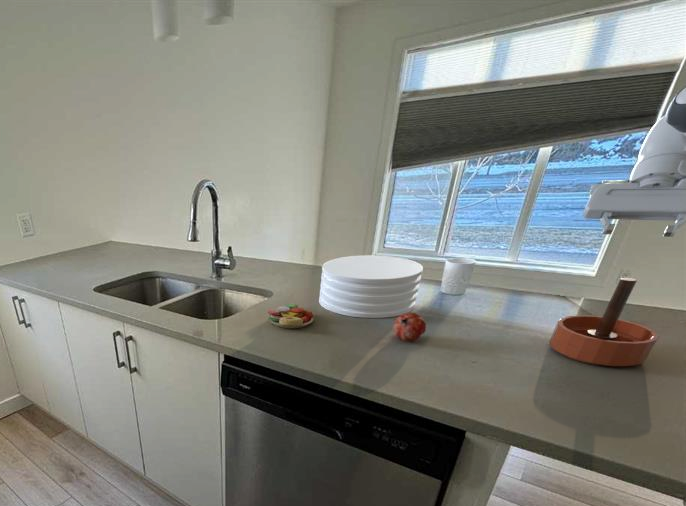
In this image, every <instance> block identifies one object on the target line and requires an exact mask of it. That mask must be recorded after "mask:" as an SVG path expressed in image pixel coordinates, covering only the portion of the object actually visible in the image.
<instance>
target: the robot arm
mask: <svg viewBox="0 0 686 506" xmlns="http://www.w3.org/2000/svg"><path fill="white" fill-rule="evenodd" d="M588 196H589V198H588V201H587V202H586V205H585V207H584V209H583V212H582V217H584V219H586V220H589V219H590V220H600V221H599V223H600V225H601V227H602V229H603V230H602V233H601V234H602V235H612V233H613V232H614V228H615V226H616V223H611V221H610V220H624V221H625V220H626V221H627V220H629V221H630V220H631V221H667V222H669V221H670V222H671V221H673V222H674V221H675V223H674V224H673V225H671V224H669V225H667V226H666V228H665V229H664V231H663V234H662V237H664V238H674V236H675V235H676V233H677V231H678V230H679V229H680V228H681V227H683V226H684V225H686V86H684V87H683V88H682V89H680V91H679V92H678V93H677V94H675V96H674V98H673V99H672V100H671V102H670V104H669V105H668V108H667V110H666V113H665V115H663V116H662V117H661V118H660V119H659V120H657V121H656V122H655V124H654V125H653V126H652V127H651V129H650V131H649V132H648V134H647V135H646V136H645V139H644V141H643V143H642V146H641V148H640V150H639V154H638V162H637V163H636V164H635V165H634V168H633V169H632V171H631V174H630V177H629V179H617V180H609V179H608V180H607V179H606V180H602V181H601V182H597V183H595V184H593V185H591V187H590V189H589V192H588Z"/></svg>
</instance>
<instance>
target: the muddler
mask: <svg viewBox="0 0 686 506" xmlns="http://www.w3.org/2000/svg"><path fill="white" fill-rule="evenodd" d="M637 282H638V279H637V278H634V277H621V278H619V281H618V283H617V285H616V287H615V289H614V292H613V293H612V296H611V298H610V300H609V302H608V304H607V306H606V307H605V310H604V312H603V315H602V319H601V321H600V323H599V325H598V327H597V329H591V330H588V331H587V333H586V336H589V337H594V338H598V339H603V340H611V341H616V339H617V337H618V335H617V334H615V333H613V332H612V330H613V328H614V326H615V324H616V322H617V320H618V319H620V316H621V314H622V312H623V309H624V308H625V306H626V304H627V302H628V300H629V298H630V296H631V294H632V292H633V290H634V289H635V286H636V284H637Z"/></svg>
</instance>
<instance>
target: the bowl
mask: <svg viewBox="0 0 686 506" xmlns="http://www.w3.org/2000/svg"><path fill="white" fill-rule="evenodd" d="M602 316H603V315H602ZM602 316H601V315H587V314H583V315H582V314H577V315H567V316H565V317H561V318H560V319H559V320H557V323H556V325H555V327H554V329H553V332H552V334H551V336H550V339H549V346H550V347H551V348H552V349H553V350H554V351H556V352H558V353H560V354H562V355H563V356H565V357H567V358H570V359H572V360H576V361H579V362H581V363H582V362H583V363H586V364H590V365H597V366H605V367H629V366H630V367H631V366H637V365H641V364H643V363H645V361H646V360H647V359H648V357H649V355H650V354H651V351H652V350H653V348H654V346H655V344H656V343H657V341H658V339H659V338H660V337H659V334H658V332H656V331H654V330H653V329H652V328H650V327H648V326H645V325H642V324H640V323H636V322H633V321H629V320H626V319H621V318H618V320H617V322H616V324H615V326H614V328H613V330H612V332H613V333H615V334H617V335H618V337H617V339H616V341H611V340H603V339H598V338H594V337H589V336H586V333H587V331H588V330H591V329H597V327H598V325H599V323H600V321H601V319H602Z"/></svg>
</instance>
